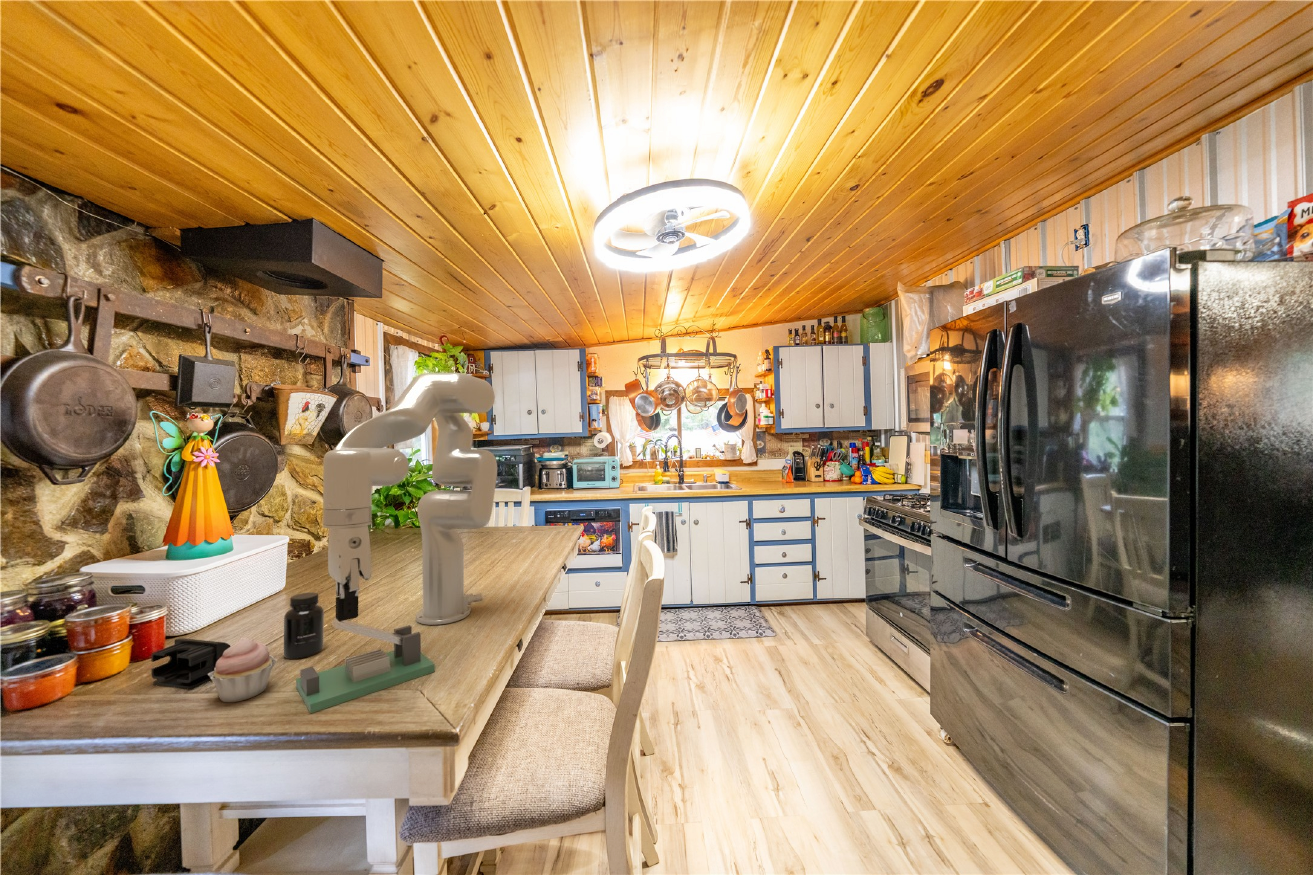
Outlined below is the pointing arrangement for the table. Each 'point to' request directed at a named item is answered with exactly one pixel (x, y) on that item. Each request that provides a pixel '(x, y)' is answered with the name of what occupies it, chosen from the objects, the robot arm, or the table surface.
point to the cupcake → (242, 671)
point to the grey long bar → (367, 631)
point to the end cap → (187, 663)
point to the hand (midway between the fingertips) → (347, 618)
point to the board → (365, 673)
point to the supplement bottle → (303, 626)
